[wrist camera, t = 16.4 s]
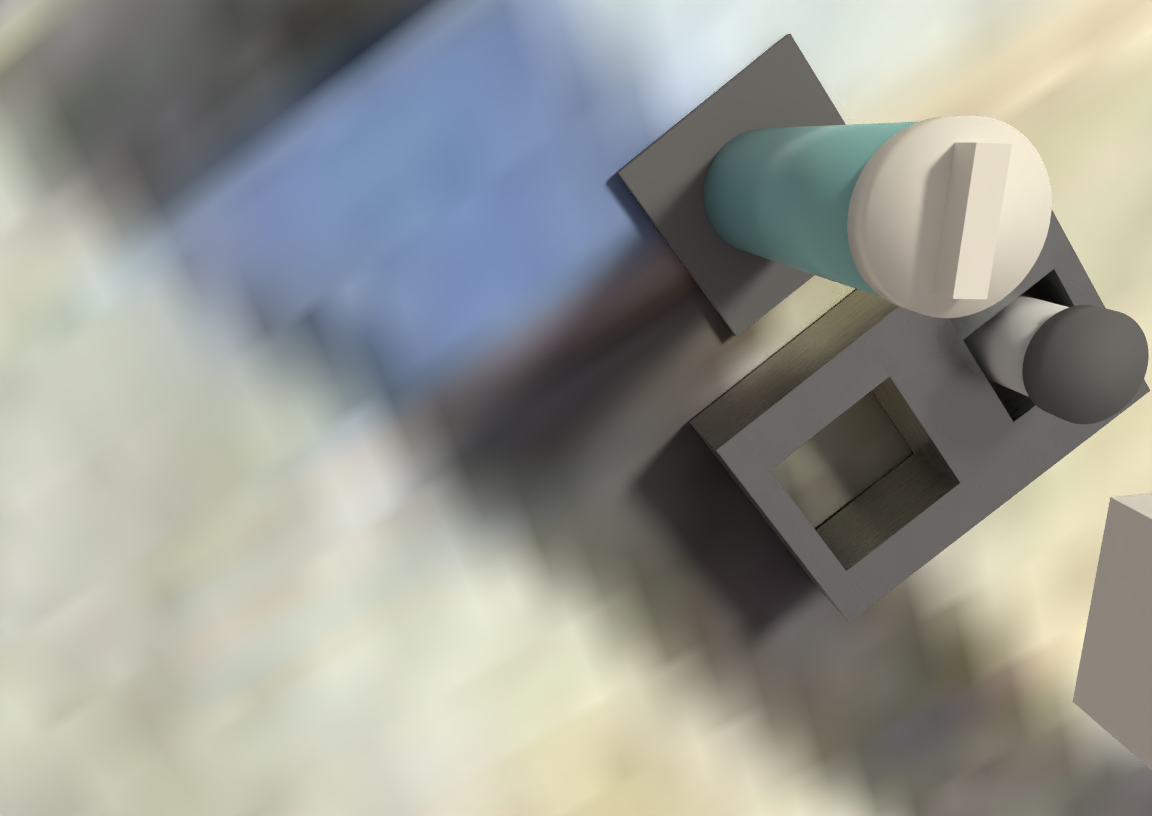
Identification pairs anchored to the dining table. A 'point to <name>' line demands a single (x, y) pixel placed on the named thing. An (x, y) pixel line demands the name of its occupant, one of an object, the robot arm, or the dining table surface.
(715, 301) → the mat
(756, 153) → the cartridge
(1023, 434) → the housing
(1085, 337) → the plunger
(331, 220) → the dining table surface
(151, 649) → the dining table surface
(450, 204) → the dining table surface
